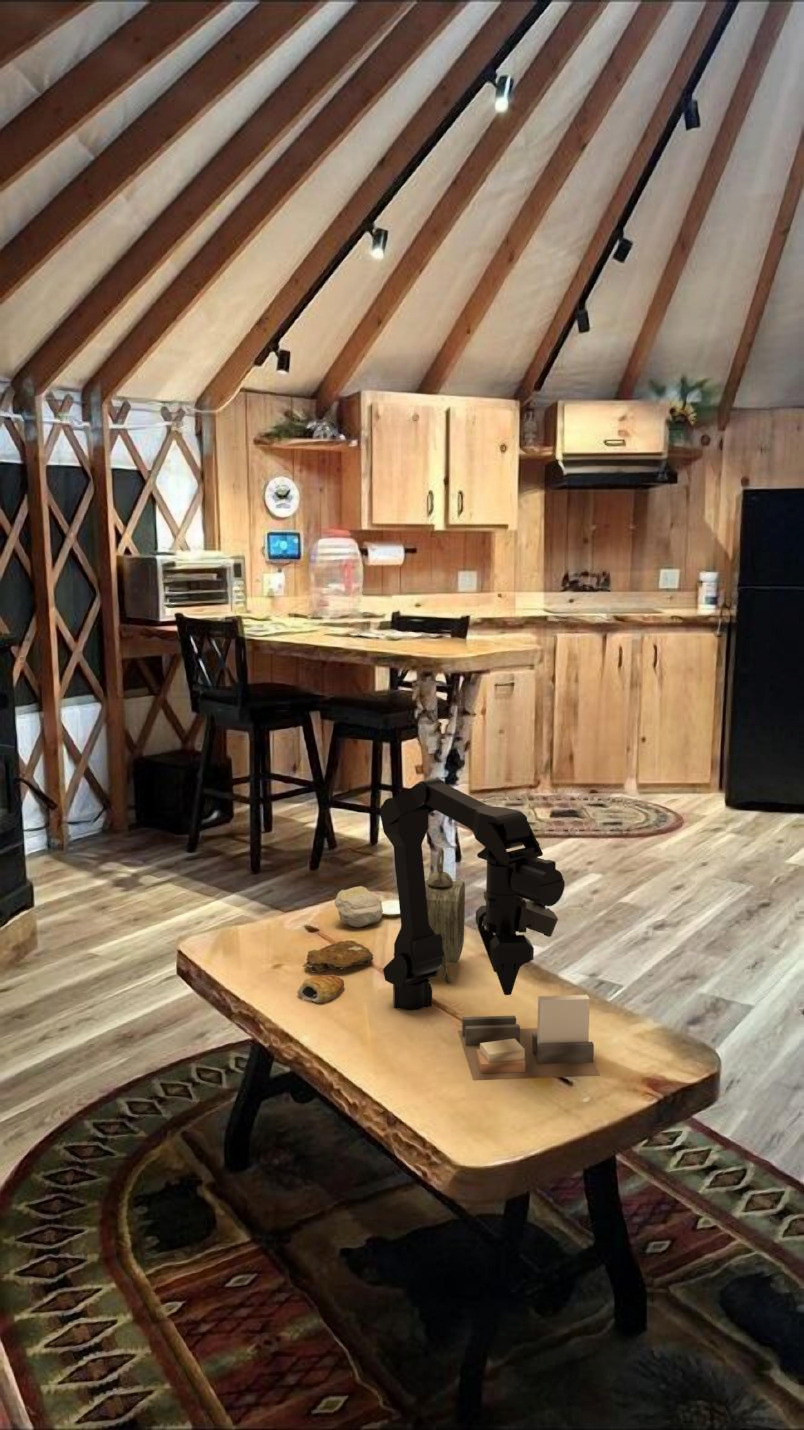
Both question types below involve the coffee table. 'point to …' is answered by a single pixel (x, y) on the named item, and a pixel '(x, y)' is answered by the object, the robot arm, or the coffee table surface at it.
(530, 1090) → the coffee table surface
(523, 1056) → the birch offcut
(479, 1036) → the walnut rack
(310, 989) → the pastry
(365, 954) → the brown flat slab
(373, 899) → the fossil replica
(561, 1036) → the off-white sheet
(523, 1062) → the cedar offcut
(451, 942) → the tabletop clock
